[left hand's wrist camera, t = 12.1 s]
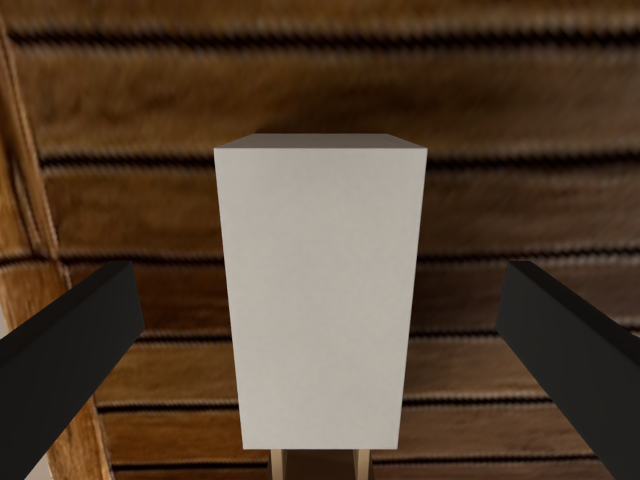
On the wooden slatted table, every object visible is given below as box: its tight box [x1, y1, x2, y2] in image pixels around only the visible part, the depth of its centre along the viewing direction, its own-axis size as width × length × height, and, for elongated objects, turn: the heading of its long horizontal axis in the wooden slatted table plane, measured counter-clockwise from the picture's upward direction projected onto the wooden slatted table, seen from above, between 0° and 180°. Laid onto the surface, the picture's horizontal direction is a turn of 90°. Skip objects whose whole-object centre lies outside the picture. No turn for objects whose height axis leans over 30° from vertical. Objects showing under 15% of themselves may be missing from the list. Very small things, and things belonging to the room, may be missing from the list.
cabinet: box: [214, 134, 428, 449], centre depth 26 cm, size 20×10×11 cm, turn 0°
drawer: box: [266, 449, 375, 480], centre depth 30 cm, size 25×9×9 cm, turn 0°
